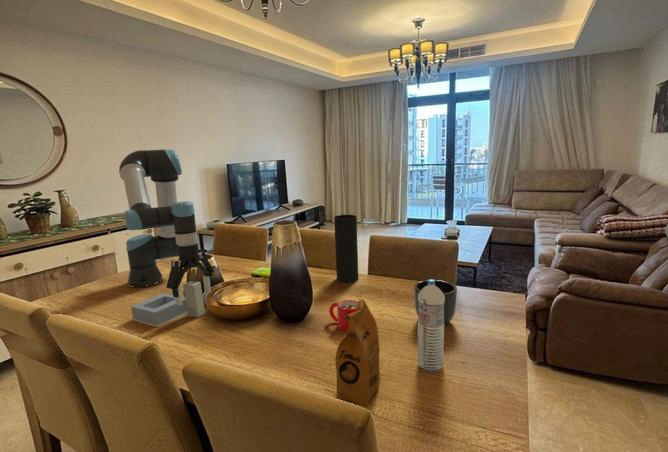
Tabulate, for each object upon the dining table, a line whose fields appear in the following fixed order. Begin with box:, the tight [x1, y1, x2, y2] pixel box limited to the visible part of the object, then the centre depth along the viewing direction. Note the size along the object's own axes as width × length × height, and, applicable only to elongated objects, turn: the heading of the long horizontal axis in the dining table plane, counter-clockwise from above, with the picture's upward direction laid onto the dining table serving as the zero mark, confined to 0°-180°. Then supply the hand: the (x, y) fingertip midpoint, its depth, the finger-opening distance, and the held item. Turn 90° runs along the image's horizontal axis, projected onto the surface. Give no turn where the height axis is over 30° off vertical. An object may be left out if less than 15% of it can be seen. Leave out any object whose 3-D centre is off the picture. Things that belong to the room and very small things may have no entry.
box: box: [182, 280, 206, 318], centre depth 140 cm, size 5×4×13 cm
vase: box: [333, 214, 359, 284], centre depth 170 cm, size 10×10×30 cm
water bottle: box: [417, 278, 445, 374], centre depth 99 cm, size 7×7×25 cm
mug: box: [328, 299, 358, 332], centre depth 127 cm, size 8×12×8 cm, turn 59°
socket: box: [130, 293, 187, 328], centre depth 141 cm, size 14×14×6 cm
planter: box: [413, 279, 458, 327], centre depth 126 cm, size 14×14×13 cm
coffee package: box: [334, 298, 381, 405], centre depth 91 cm, size 10×12×22 cm
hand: (194, 298), depth 139 cm, fingers open, 13 cm apart
